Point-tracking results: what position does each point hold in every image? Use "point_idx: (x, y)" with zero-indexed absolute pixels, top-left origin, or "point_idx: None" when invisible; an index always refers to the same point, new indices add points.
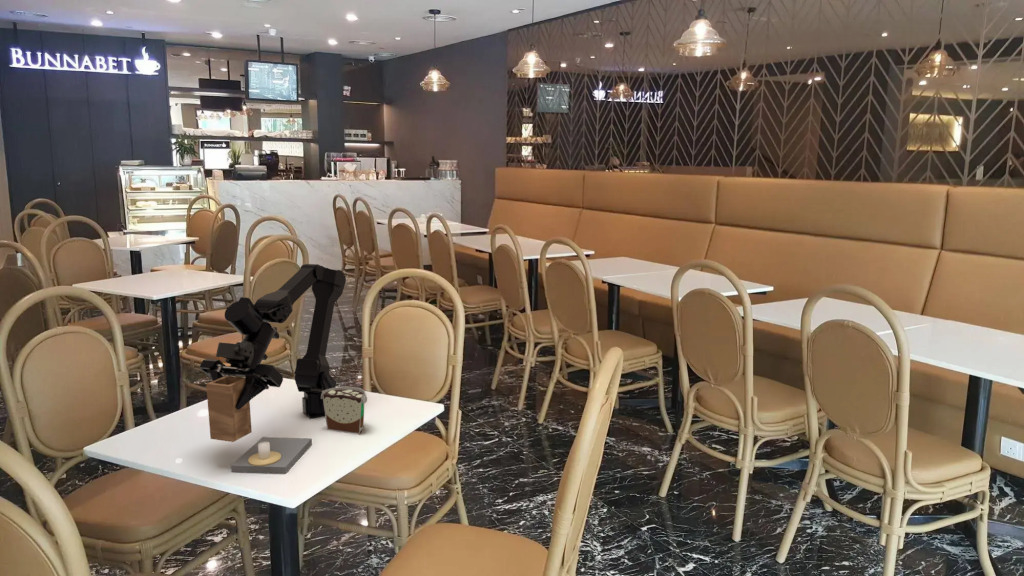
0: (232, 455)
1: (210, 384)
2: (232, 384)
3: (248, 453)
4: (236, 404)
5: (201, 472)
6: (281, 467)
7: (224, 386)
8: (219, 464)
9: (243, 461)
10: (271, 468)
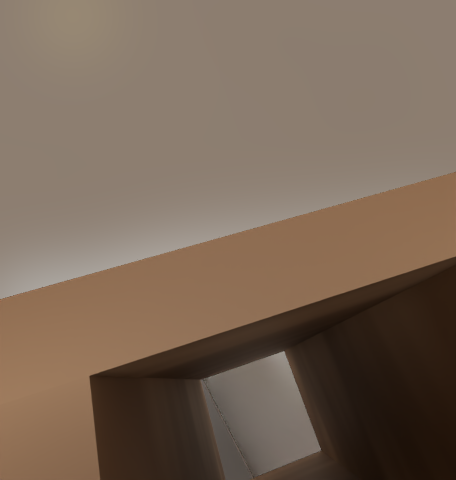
0: (312, 445)
1: (434, 180)
2: (17, 469)
3: (226, 466)
4: None
5: None
6: None
7: (118, 270)
8: (274, 365)
9: None
10: None
